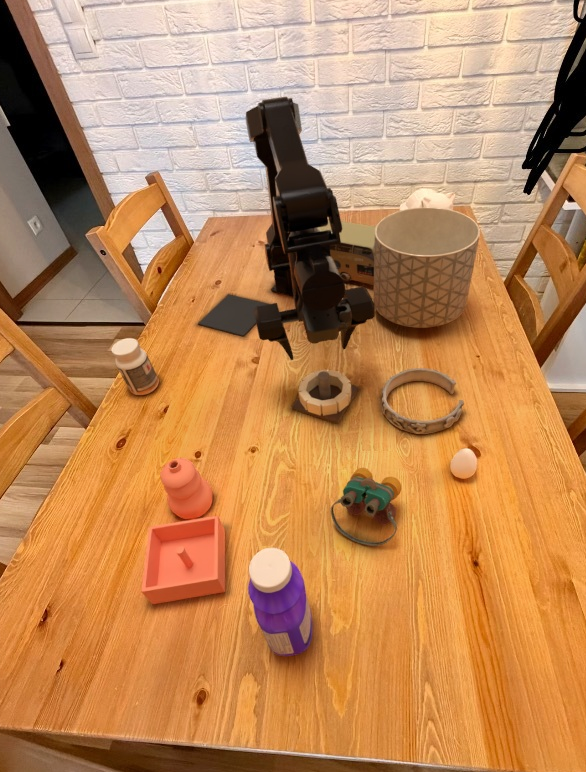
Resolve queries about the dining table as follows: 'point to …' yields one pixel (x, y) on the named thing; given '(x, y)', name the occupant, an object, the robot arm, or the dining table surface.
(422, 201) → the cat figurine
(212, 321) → the rubber mat
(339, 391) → the stand
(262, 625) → the bottle
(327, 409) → the beige segmented ring
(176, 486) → the pottery
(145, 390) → the pill bottle
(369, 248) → the toy bus
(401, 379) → the bracelet
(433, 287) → the planter
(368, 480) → the binoculars
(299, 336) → the dining table surface
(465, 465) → the egg
